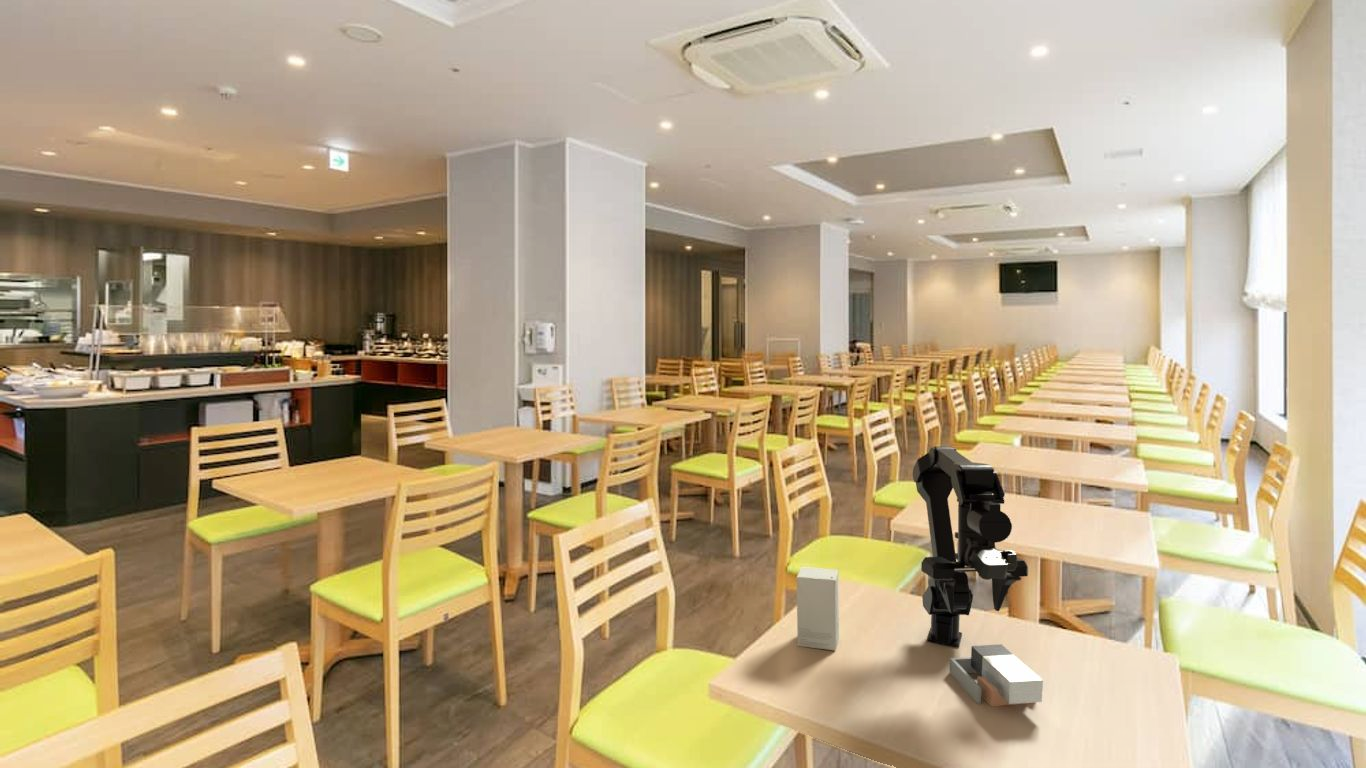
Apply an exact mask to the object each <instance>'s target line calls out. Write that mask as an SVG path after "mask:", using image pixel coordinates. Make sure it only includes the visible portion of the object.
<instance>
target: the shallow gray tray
mask: <svg viewBox="0 0 1366 768" xmlns="http://www.w3.org/2000/svg"><path fill="white" fill-rule="evenodd" d="M949 674H950V675H951V676H952V678H953V679H954V680H955V681H956V682H957V683H958V684H959V685H960V686H961V688H962V689H963V690H965V692H966V693H967V694H968V695H969V696H970V697H971V698H972V699H973V700H974V702H975V703H976V704H978V705H980V704H982V696H981V689H982V688H981V687H980V686H979V685H978V684H977V681H975V679H973V677H972V676H971V675H970V674H978V673H977V672H976V671H975V670H974V669H973V668H972V667H971V656H965V657H964V656H963V657H949Z"/></svg>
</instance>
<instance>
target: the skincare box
mask: <svg viewBox="0 0 1366 768" xmlns="http://www.w3.org/2000/svg"><path fill="white" fill-rule="evenodd" d="M839 600H840V599H839V569H834V568H833V569H832V568H821V567H810V566H801V567H800V569H799V572H798V573H797V576H796V615H797V616H796V617H797V618H796V619H797V623H796V624H797V625H796V627H797V628H796V629H797V647H803V648H804V647H805V648H812V649H820V650H828V651H836V650H837V647H838V643H839V638H840V623H839V622H840V617H839V613H840V611H839V609H840V608H839V604H840V603H839V602H840V601H839Z"/></svg>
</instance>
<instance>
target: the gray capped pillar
mask: <svg viewBox="0 0 1366 768" xmlns="http://www.w3.org/2000/svg"><path fill="white" fill-rule="evenodd" d="M970 650H971V655H970V657H971V667H972V668H973V669H974V670H975V671H976V672H977V673H976V674H978V676H981V677H982V678H983V679H984V680H985V681H986V682H987V683H988V684H989V685H990V686H991V687H992V688H993V689H994V690H995V691H996V692H997V693H998V694H999V695H1000V696H1001V697H1002V698H1003V699H1004V700H1005V701H1006V702H1007V703H1008V704H1015V705H1018V704H1017V703H1028V704H1029V703H1031V704H1032V703H1041V702H1042V701H1043V688H1044V687H1043V683H1044V680H1043V679H1042V678H1041V677H1040V676H1039V675H1038V674H1037V673H1035V672H1034V671H1033V670H1032V669H1031V668H1030V667H1028V666H1027V664H1025V663H1024V662H1022V661H1021V660H1020V659H1019V658H1018V657H1017V656H1015V654H1013V653H1012V652H1011V651H1010V650H1009V649H1007V648H1006V646H1004V645H1003V644H987V645H986V644H985V645H972V646H971V649H970Z"/></svg>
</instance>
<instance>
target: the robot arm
mask: <svg viewBox="0 0 1366 768" xmlns="http://www.w3.org/2000/svg"><path fill="white" fill-rule="evenodd" d="M912 479H913V482H914V483H915V486H916V492H917V493H918V494H919V495H920V497H921V498H922V499H923V500H924V502H925V504H926V513H927V521H928V527H929V536H930V543H931V551H932V556H924V558H923V559H922V561H921V563H920V565H921V566H920V567H921V569H920V570H921V572H922V573H925V574H926V575H927V576H928V577H929V578H928V580H927V582H928V586H927V588H926V589H925V591H924V593H923V594H922V606H923V609H925V611H926V612H927V614H928V615H930V617H931V618H930V628H929V631H928V634H927V637H926V641H928V642H932V643H937V644H941V645H942V644H943V645H947V646H952V647H957V648H959V647H960V645H961V641H962V636H963V632H961V631H960V618H961V616H970V612H971V609H972V605H973V604H972V603H973V599H974V594H973V592H972V589H971V588H970V586H969V578H968V577H969V576H968V574H967V573H969V572H970V573H971V572H977V573H978V576H979V577H980V578H981V579H982V580H986V581H988V580H989V581H990V580H991V585H992V586H991V587H992V590H991V591H992V601H993V609H994V610H995V611H997V612H1000V610H1001V607H1002V605H1003V603H1004V600H1005V598H1006V596H1007V593H1008V591H1009V589H1010V587H1011V586H1012V585H1013V584H1015V583H1016V582H1019V581H1021V580H1022V577H1028V576H1029V566H1028V564H1027V562H1026V561H1025V560H1024V559H1022V558H1020V557H1017V553H1016V552H1015V551H1014V550H1012V549H1011V550H1010V549H1009V550H1007V549H1006V550H997V548H996V543H1001V542H1004V541H1005V540H1006V539H1008V537H1010V535H1011V533H1012V529H1013V524H1012V521H1011V519H1010V518H1009V516H1008V515H1007V513H1005V512H1003V511H1002V510H1001V505H1002V504H1003V505H1005V495H1006V494H1005V491H1004V489H1003V486H1002V483H1001V481H1000V478H999V476H998V473H997V471H996V470H995V469H994V467H993V466H992V465H990V464H988V463H982V462H972V461H971V460H969V459H968V458H966V457H965V456H964V455H962V454H961V453H959V452H958V451H957V449H956V447H952V445H951V446H943V445H942V446H933V447H930V449H929V450H928V452H927V453H926V454H924V455H922V456H921V457H919V458H918V459H917V460H916V462H915V464H914V466H913V469H912ZM952 491H954V493H955V496H956V502H957V503H958V505H957V507H958V509H957V513H958V515H957V521H958V523H957V526H958V527H957V529H958V530H957V532H954V534H953V529H952V528H953V527H952V520H951V513H950V506H949V496H950V494H951V493H952ZM954 538H955V539H957V546H958V547H957V552H956V549H955V543H954Z"/></svg>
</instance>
